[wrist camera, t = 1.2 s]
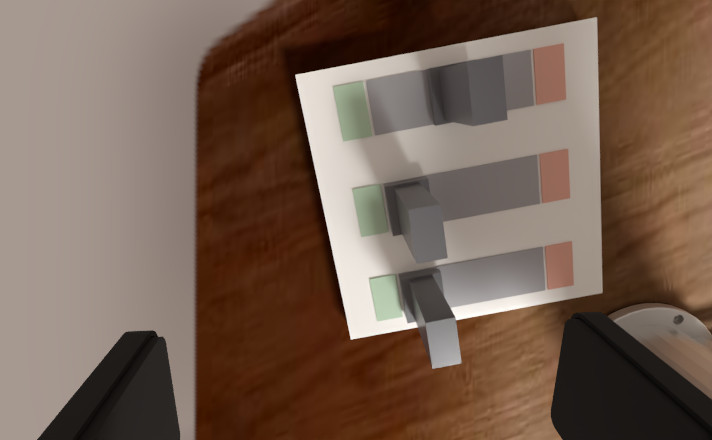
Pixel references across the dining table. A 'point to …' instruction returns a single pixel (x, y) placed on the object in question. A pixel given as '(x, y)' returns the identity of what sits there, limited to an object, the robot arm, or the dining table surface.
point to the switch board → (464, 176)
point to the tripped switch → (468, 92)
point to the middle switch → (417, 218)
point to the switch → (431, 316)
